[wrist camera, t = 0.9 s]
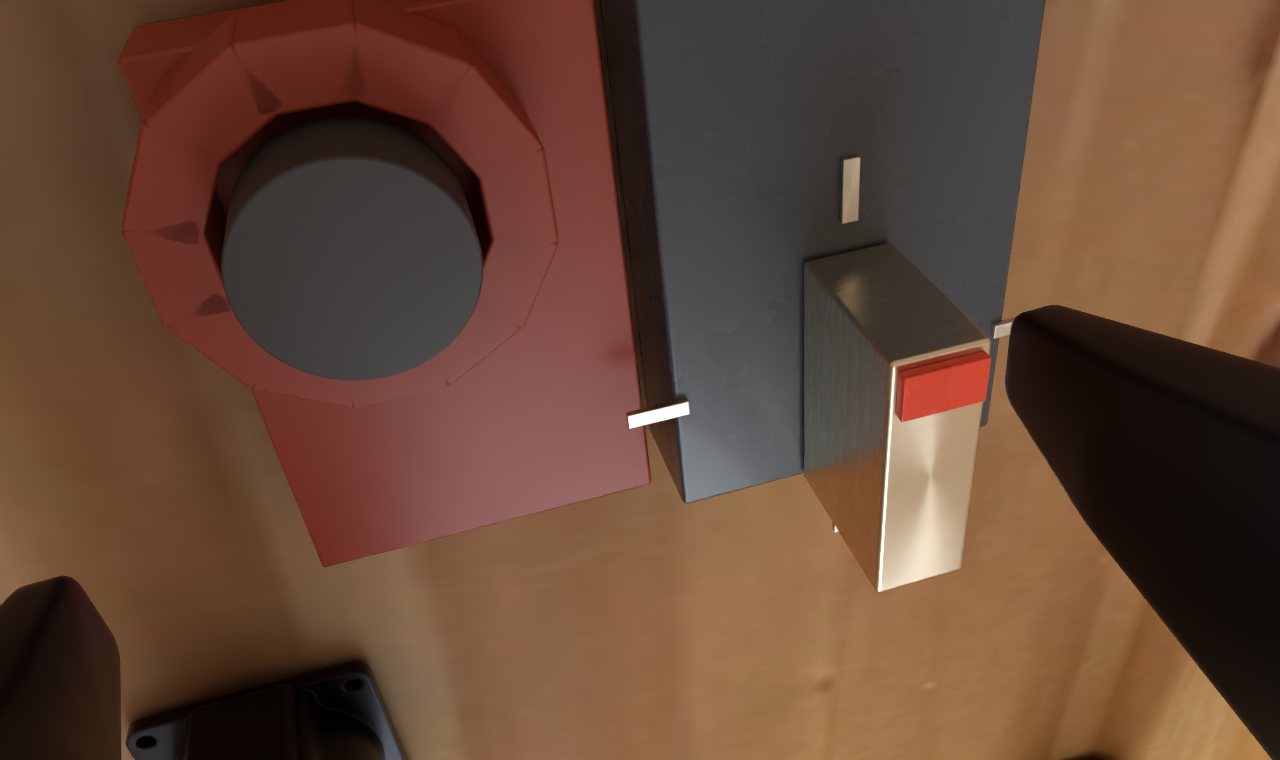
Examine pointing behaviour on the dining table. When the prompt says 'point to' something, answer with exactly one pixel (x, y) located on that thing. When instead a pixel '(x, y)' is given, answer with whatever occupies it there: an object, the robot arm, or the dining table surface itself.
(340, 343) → the button
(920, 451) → the tan and red box
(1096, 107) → the dining table surface
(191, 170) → the button box
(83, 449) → the dining table surface
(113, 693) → the robot arm
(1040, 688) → the dining table surface
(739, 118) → the dark grey panel
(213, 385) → the dining table surface
